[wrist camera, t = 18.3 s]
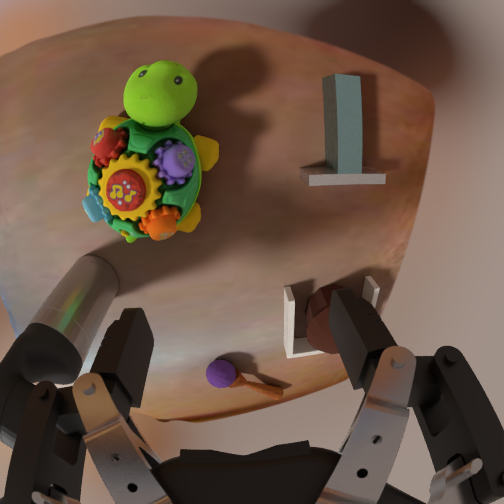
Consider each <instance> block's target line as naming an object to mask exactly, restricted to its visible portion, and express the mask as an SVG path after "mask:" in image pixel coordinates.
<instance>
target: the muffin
mask: <svg viewBox="0 0 504 504" xmlns="http://www.w3.org/2000/svg"><path fill="white" fill-rule="evenodd" d="M337 289H344V287H340V286H338V285H335V284H333V285H330V286H327V287H322V288H319V289H318V290H317V291H316V292H315V293H314V294H313V295H312V296H311V297H309V298H308V303H307V307H306V309H305V314H306V322H307V341H308V342H309V344H310V345H311V346H312V347H313V348H315V349H317V350H319V351H322V352H326V353H330V354H336V353H339V351H338V349H337V346H336V344H335V341H334V339H333V336H332V334H331V332H330V328H329V320H328V319H329V311H330V303H331V295H332V291H333V290H337Z"/></svg>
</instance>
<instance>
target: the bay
mask: <svg viewBox="0 0 504 504" xmlns="http://www.w3.org/2000/svg"><path fill="white" fill-rule="evenodd" d="M379 289H380V288H379V286H378V285H377V284H376V282H375V281H374V280H373V278H372V277H371V276H365V282H364V287H363V293H362V298H364V299H365V300H367V301H368V302H370V303H371V304H372V305H373V307H374V308H375V306H376V302H377V298H378V294H379ZM294 315H295V299H294V296H293V293H292V290H291V287H290V286H287V287H284V346H285V350H286V355H287V358H294V357H301V356H307V355H313V354H319V353H325V352H322V351H319V350H317V349H315V348H313V347H312V346H311V345H310V344H309V342H308V341H307V337H303V338H296V339H294Z"/></svg>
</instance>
